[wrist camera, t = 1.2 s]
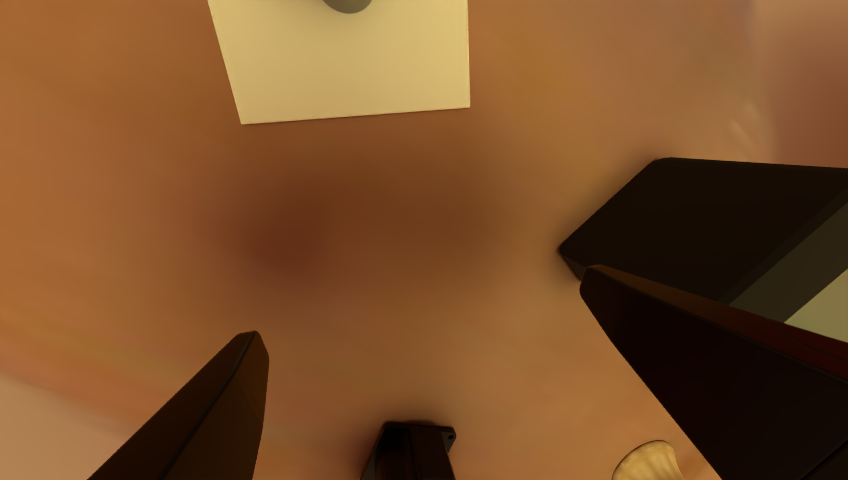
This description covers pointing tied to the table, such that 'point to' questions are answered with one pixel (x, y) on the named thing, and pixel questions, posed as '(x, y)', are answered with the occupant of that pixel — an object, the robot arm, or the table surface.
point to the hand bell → (649, 463)
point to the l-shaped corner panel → (826, 311)
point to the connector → (348, 5)
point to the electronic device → (724, 232)
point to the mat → (343, 57)
